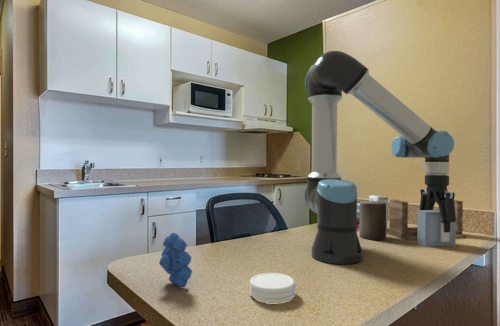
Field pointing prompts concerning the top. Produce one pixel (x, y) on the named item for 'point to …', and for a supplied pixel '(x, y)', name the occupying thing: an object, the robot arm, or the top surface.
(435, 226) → the door panel
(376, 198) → the syrup box
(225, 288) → the top surface
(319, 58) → the robot arm
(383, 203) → the pillar candle
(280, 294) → the white round jar
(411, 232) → the frame
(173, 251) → the grapes
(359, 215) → the pill bottle
